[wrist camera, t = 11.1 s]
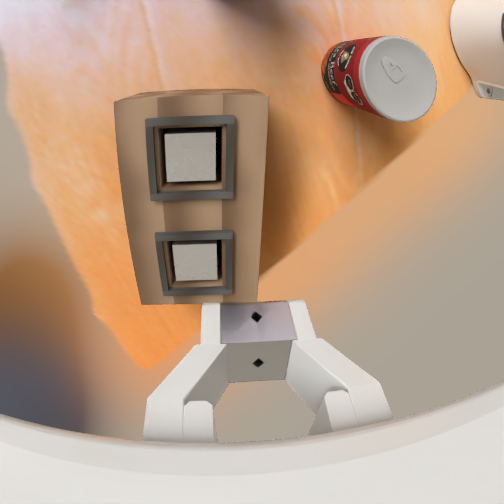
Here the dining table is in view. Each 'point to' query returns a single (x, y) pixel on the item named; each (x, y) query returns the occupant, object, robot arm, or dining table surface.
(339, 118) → the dining table surface
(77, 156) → the dining table surface
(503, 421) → the robot arm
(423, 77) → the canned food
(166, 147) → the peg
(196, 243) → the peg
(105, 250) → the dining table surface
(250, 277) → the socket block
